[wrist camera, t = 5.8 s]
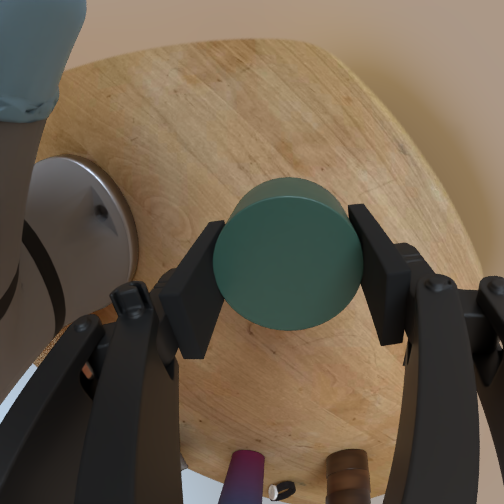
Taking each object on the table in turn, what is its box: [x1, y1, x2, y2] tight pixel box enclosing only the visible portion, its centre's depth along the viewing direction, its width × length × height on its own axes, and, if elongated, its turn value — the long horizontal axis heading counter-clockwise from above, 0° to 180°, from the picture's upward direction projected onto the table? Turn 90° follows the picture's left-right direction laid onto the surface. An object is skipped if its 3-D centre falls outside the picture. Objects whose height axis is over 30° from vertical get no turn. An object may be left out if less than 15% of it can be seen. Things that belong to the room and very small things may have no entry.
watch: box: [269, 481, 296, 501], centre depth 42 cm, size 8×5×4 cm, turn 164°
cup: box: [218, 450, 265, 504], centre depth 32 cm, size 7×7×15 cm
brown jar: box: [326, 449, 371, 504], centre depth 32 cm, size 7×7×10 cm
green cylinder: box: [213, 177, 363, 331], centre depth 13 cm, size 6×6×4 cm
